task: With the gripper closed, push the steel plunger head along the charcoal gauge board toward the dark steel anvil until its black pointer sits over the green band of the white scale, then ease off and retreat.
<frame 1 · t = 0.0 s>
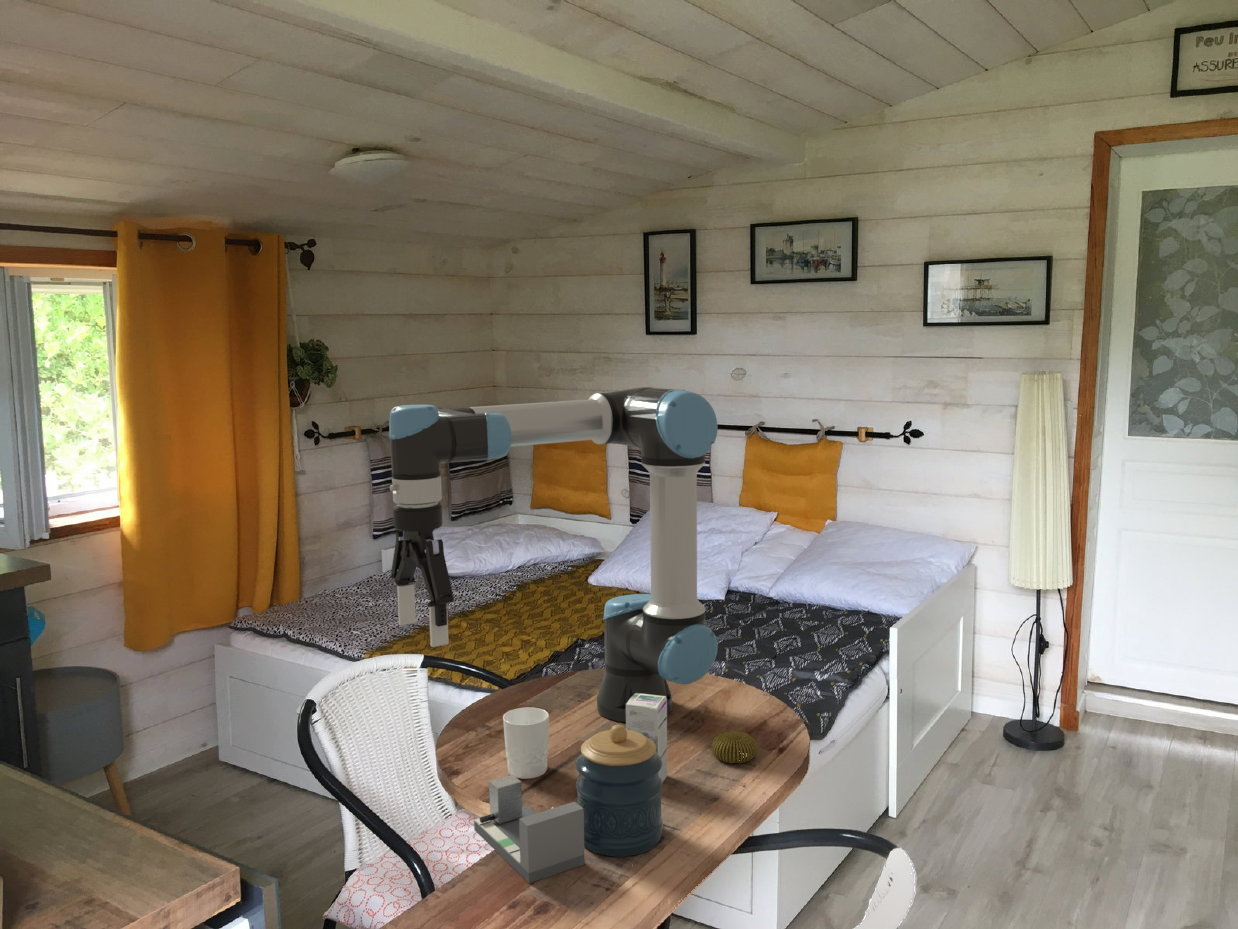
hand: (422, 634, 163), 28 cm above the table, fingers open, 13 cm apart
green sea urchin shell: (734, 759, 181), on the table
white cup: (527, 771, 177), on the table
syrup box: (647, 781, 173), on the table
canister: (619, 837, 154), on the table
plunger: (498, 801, 156), point 5 cm above the table, slide at 0.0 cm
gauge base: (527, 846, 152), on the table
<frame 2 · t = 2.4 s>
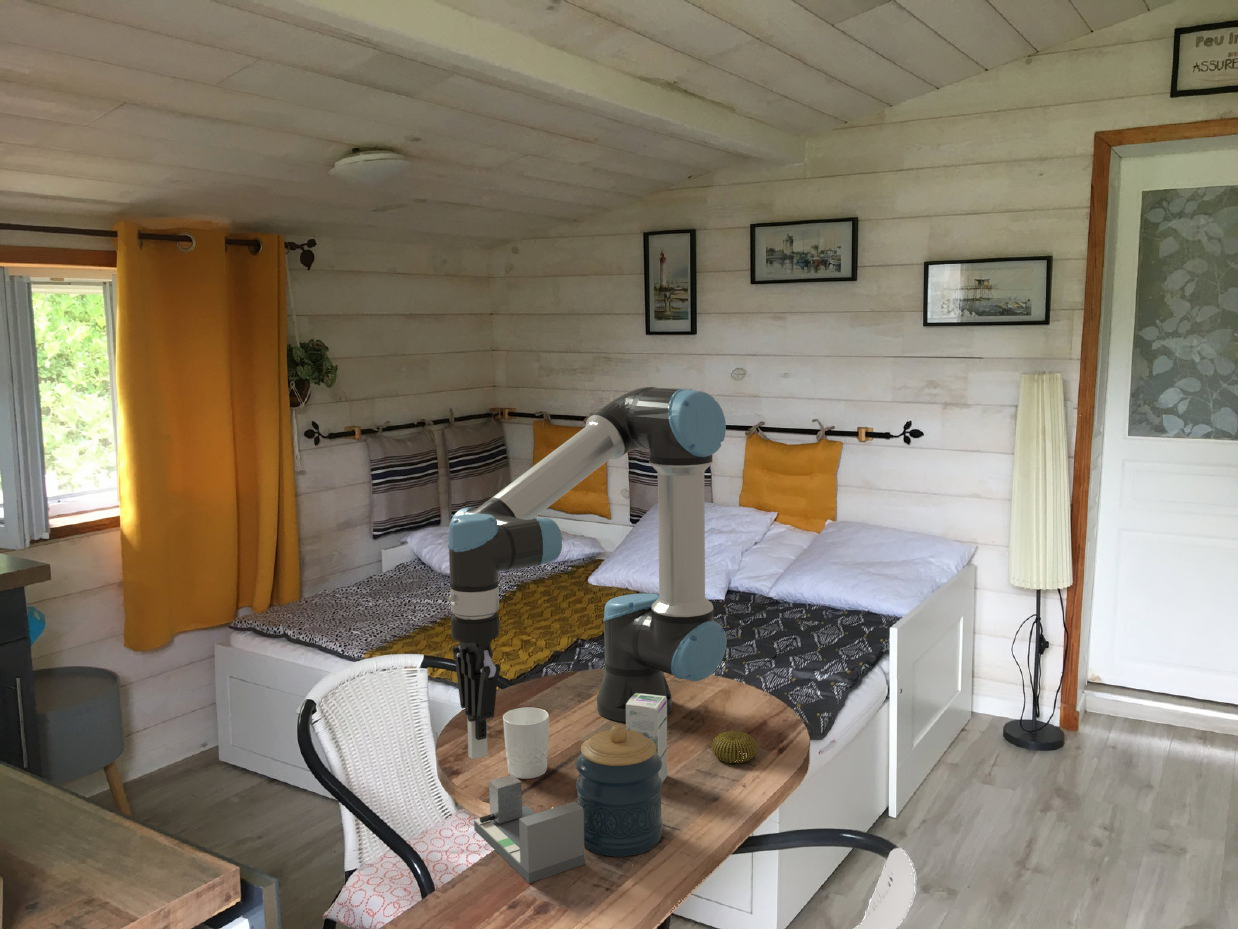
hand: (477, 755, 163), 8 cm above the table, fingers closed
nothing on the table moved.
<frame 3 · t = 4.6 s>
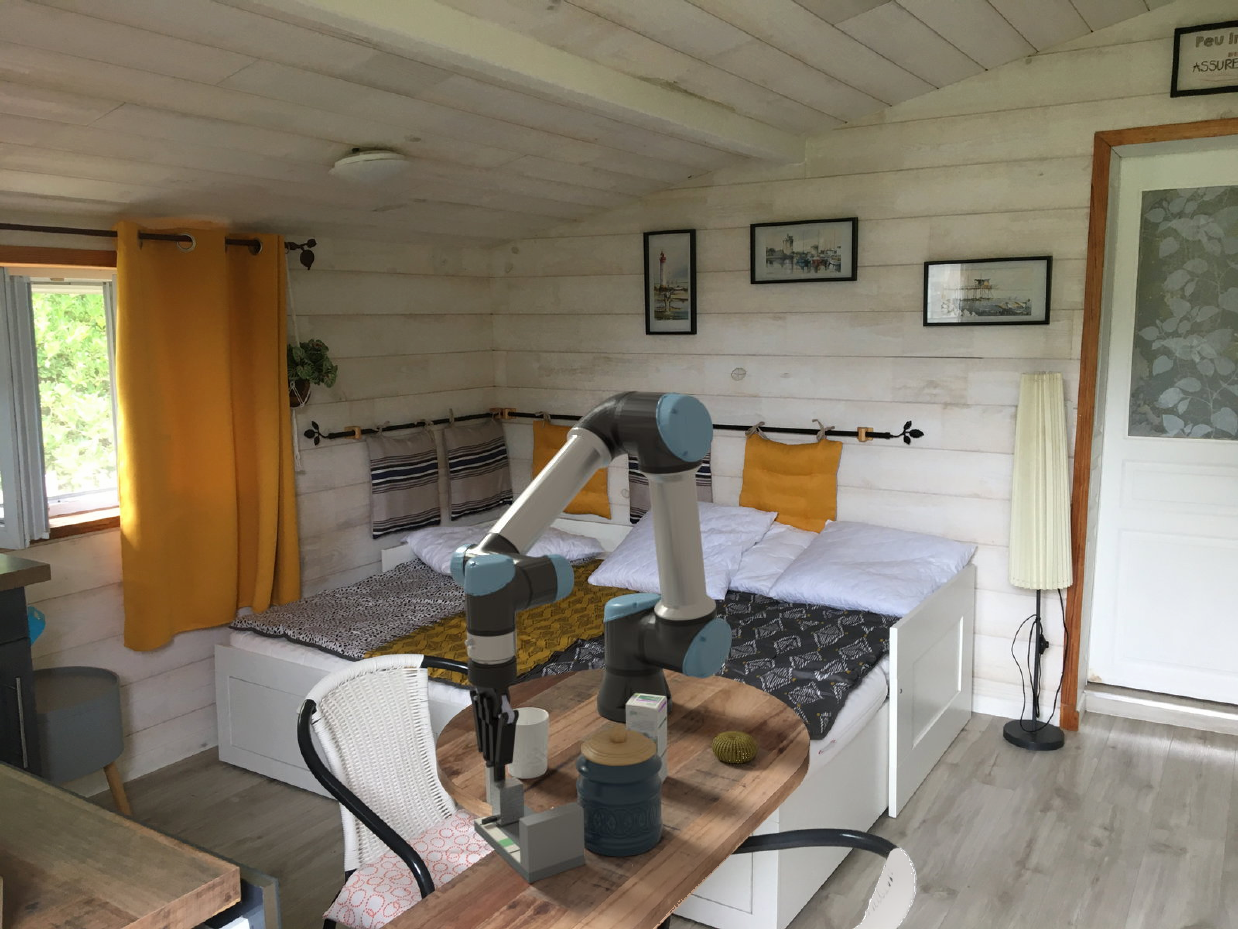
hand: (496, 801, 159), 3 cm above the table, fingers closed
plunger: (500, 802, 156), point 5 cm above the table, slide at 0.7 cm, touching gripper
everything else where it was.
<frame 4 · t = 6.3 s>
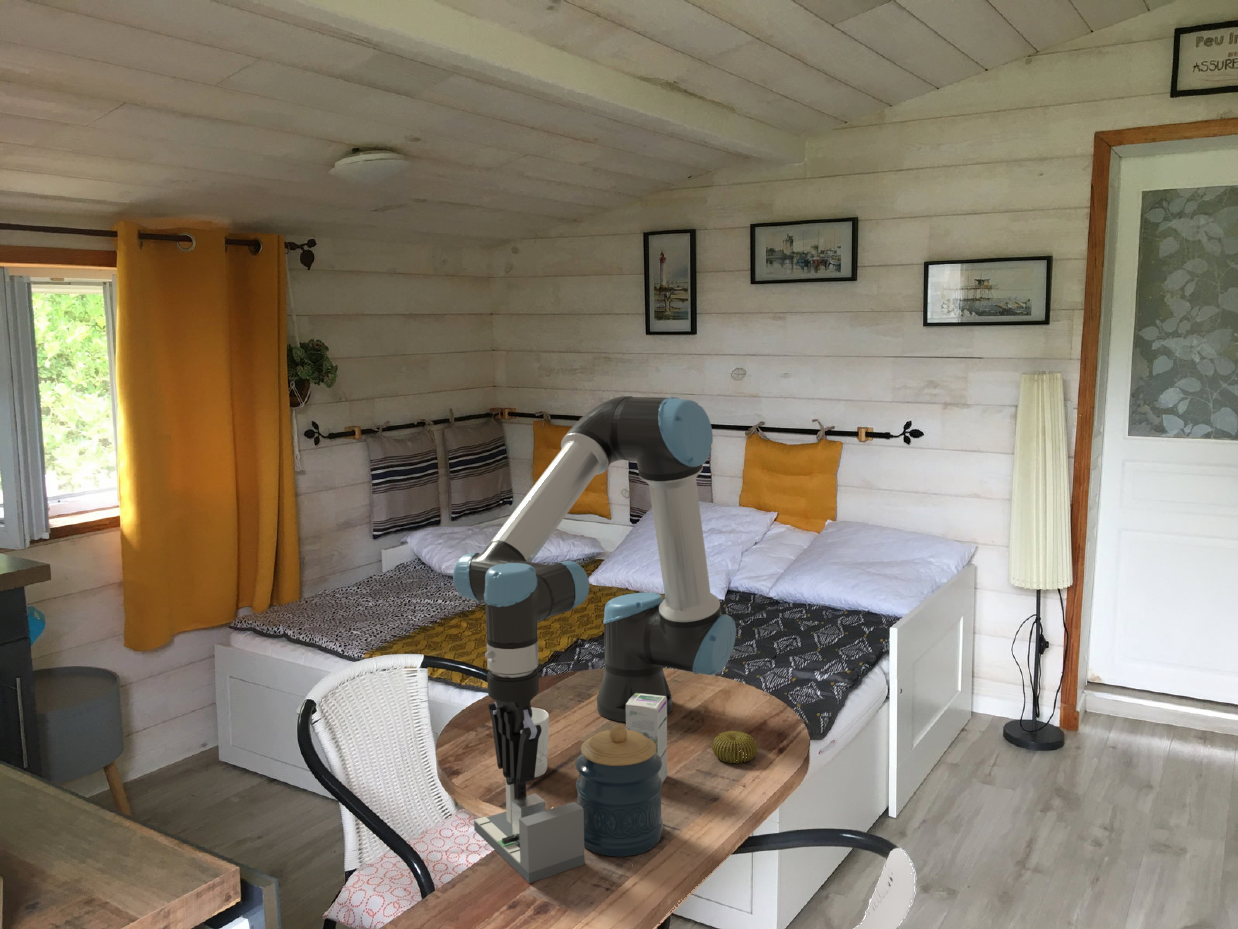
hand: (516, 819, 154), 3 cm above the table, fingers closed
plunger: (521, 821, 150), point 5 cm above the table, slide at 7.7 cm, touching gripper
everything else where it was.
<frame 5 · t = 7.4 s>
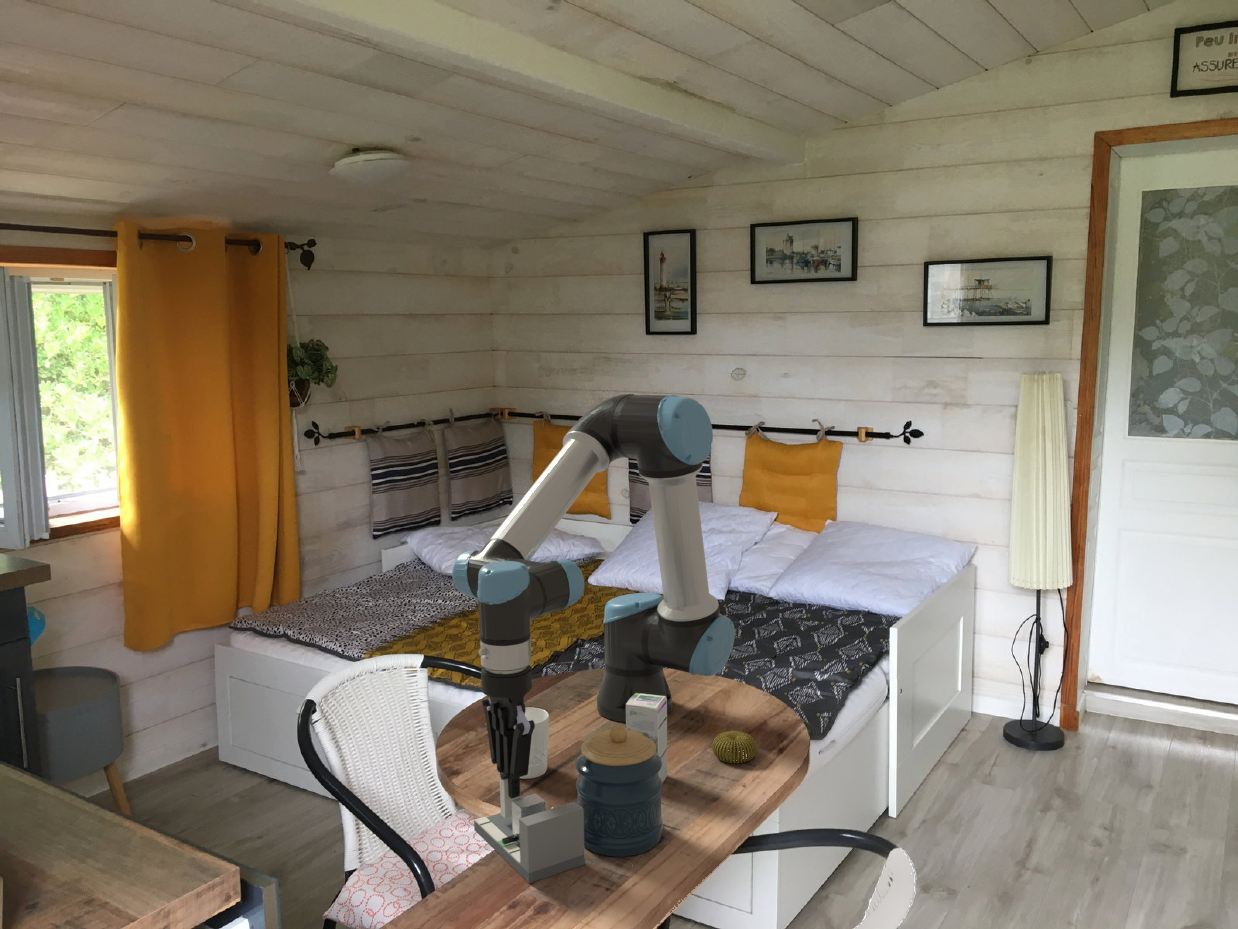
hand: (510, 813, 156), 3 cm above the table, fingers closed
plunger: (522, 821, 150), point 5 cm above the table, slide at 7.7 cm
everything else where it was.
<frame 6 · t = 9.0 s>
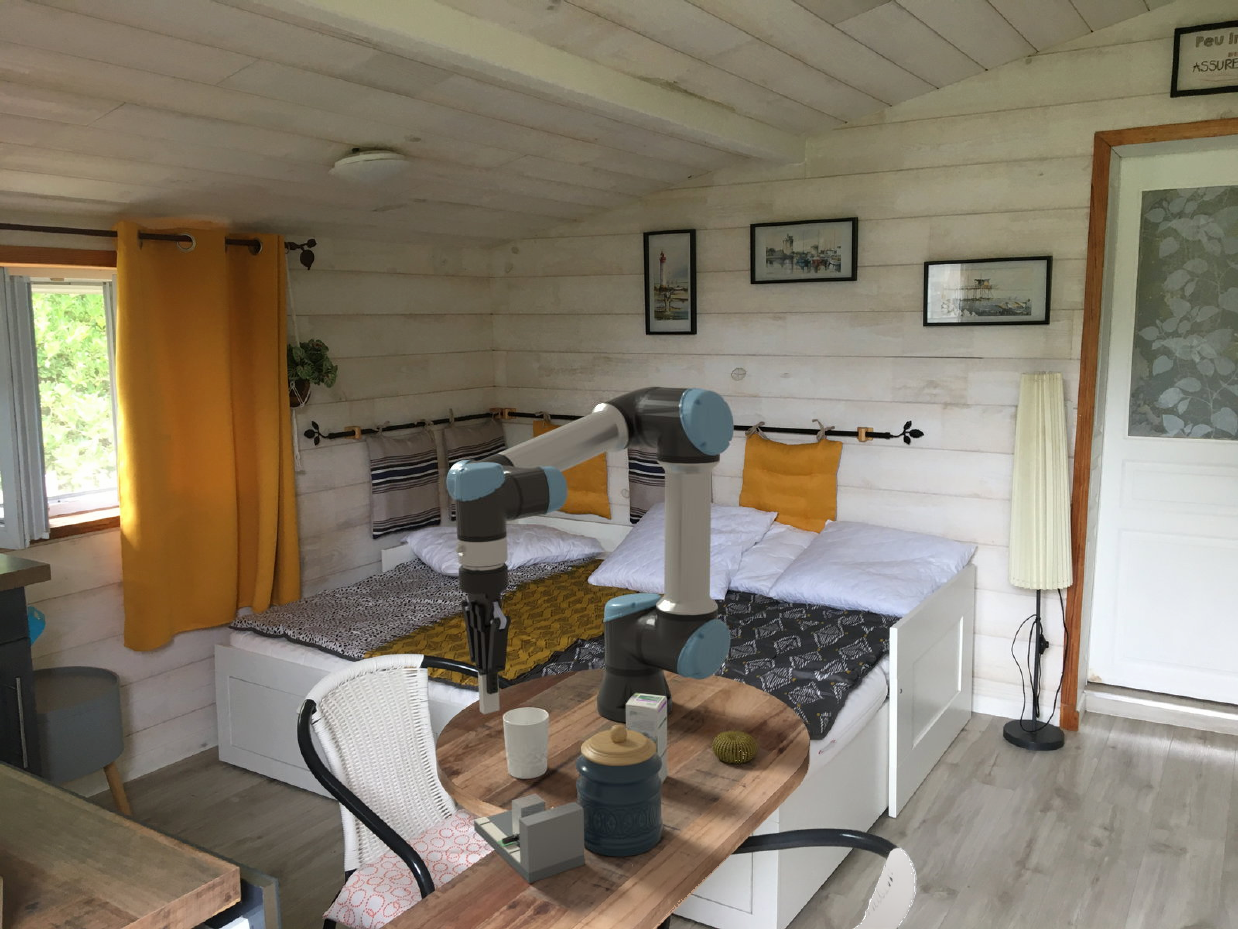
hand: (489, 710, 160), 17 cm above the table, fingers closed
nothing on the table moved.
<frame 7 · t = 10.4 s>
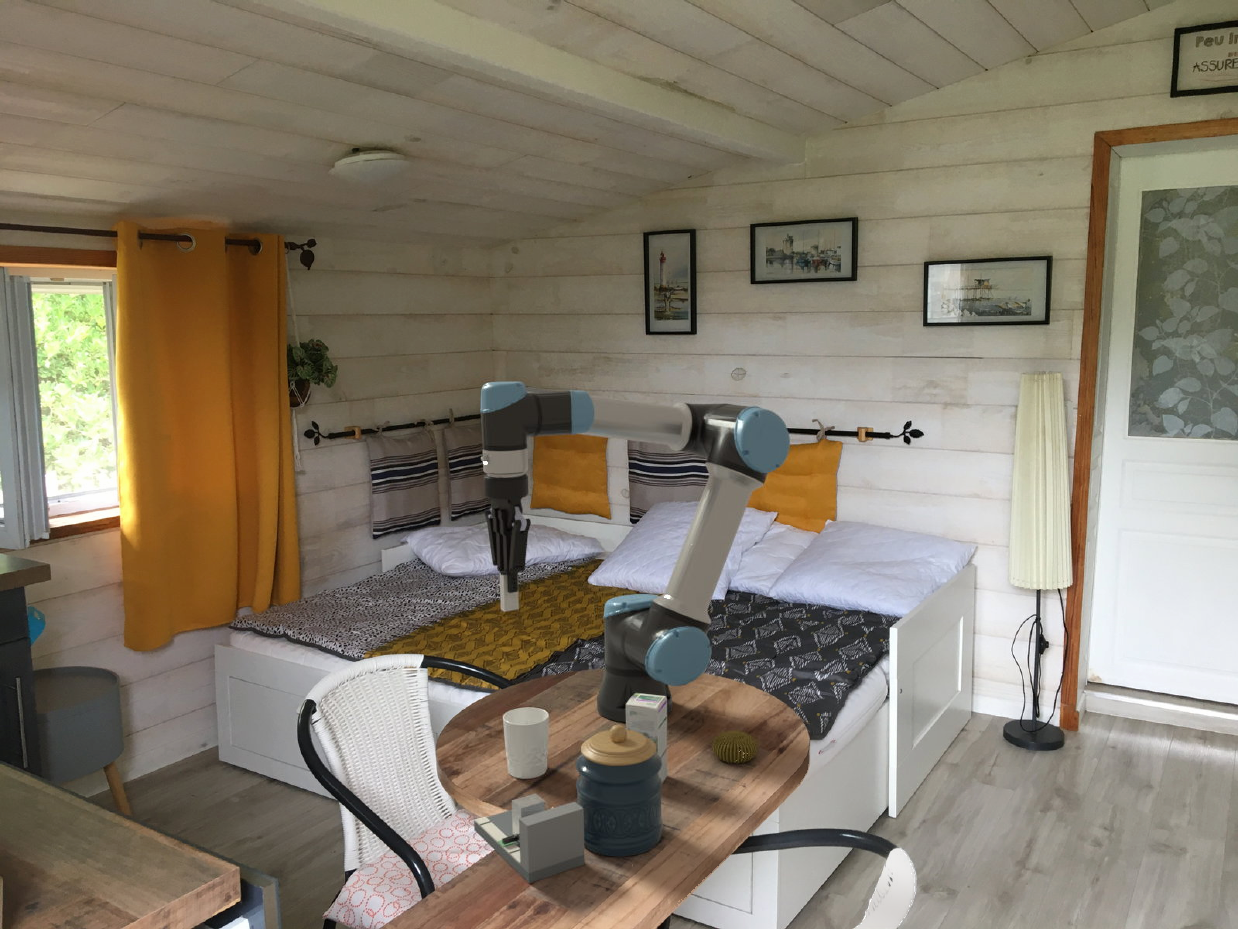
hand: (509, 609, 175), 28 cm above the table, fingers closed
nothing on the table moved.
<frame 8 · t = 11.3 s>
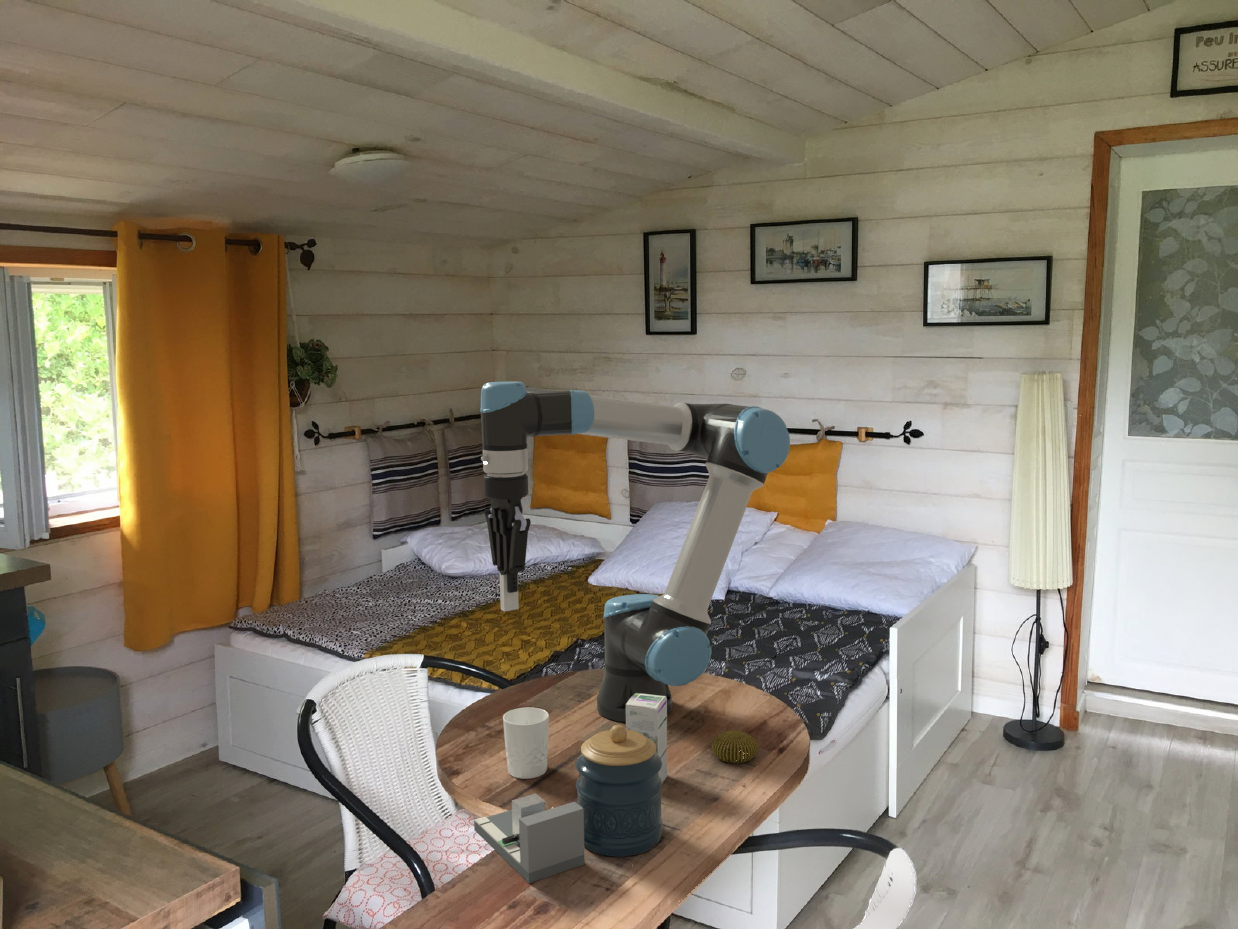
hand: (509, 609, 175), 28 cm above the table, fingers closed
nothing on the table moved.
at the end: plunger slide at 7.7 cm; canister moved 0.2 cm from its start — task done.
